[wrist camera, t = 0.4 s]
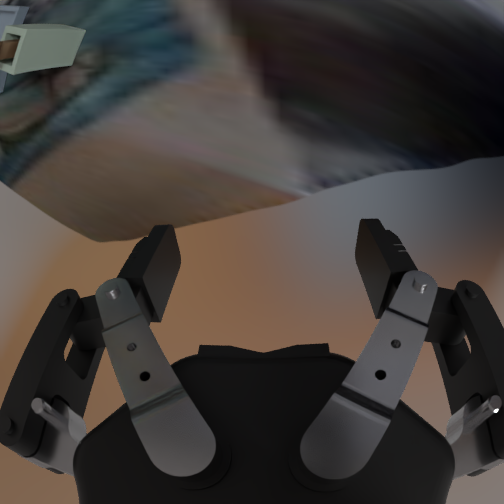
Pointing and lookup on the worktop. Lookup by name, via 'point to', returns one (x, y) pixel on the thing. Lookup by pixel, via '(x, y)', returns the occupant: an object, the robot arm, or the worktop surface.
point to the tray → (10, 16)
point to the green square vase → (41, 46)
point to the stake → (8, 48)
